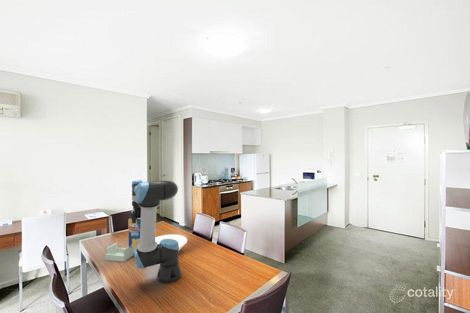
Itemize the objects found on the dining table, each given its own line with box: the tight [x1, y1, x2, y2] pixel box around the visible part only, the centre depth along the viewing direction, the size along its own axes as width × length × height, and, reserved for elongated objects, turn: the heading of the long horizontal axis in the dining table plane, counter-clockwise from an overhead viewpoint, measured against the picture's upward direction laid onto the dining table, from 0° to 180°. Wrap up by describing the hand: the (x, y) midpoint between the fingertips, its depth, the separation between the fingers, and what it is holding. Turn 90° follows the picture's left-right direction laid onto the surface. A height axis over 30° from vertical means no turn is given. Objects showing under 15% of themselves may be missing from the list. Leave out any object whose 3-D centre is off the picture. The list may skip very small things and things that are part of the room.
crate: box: [104, 241, 136, 263], centre depth 164 cm, size 16×13×9 cm
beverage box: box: [127, 217, 141, 249], centre depth 164 cm, size 7×11×22 cm, turn 78°
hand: (137, 230), depth 164 cm, fingers closed on beverage box, 2 cm apart
